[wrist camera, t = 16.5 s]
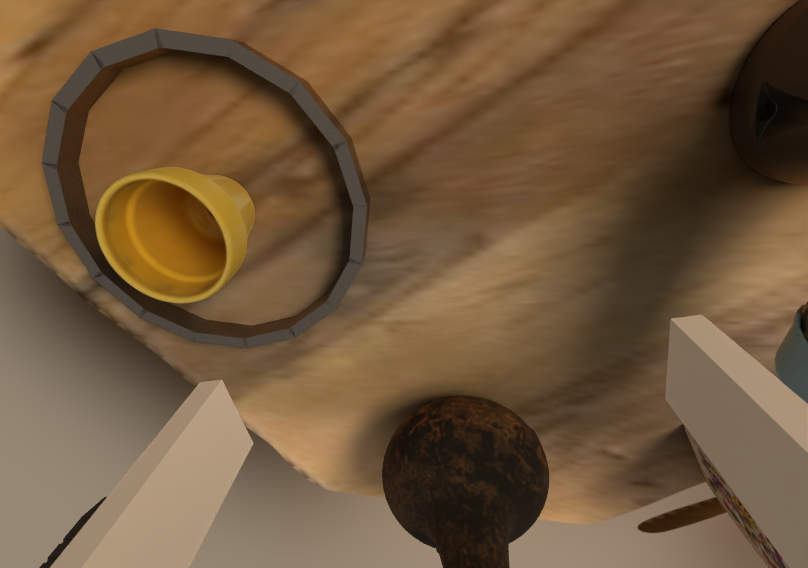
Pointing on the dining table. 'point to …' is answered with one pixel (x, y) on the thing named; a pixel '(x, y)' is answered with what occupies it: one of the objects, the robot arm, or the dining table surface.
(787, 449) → the robot arm
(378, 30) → the dining table surface
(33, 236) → the dining table surface
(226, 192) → the plant pot
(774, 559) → the decorative jar
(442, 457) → the glass bottle
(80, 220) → the centring collar
